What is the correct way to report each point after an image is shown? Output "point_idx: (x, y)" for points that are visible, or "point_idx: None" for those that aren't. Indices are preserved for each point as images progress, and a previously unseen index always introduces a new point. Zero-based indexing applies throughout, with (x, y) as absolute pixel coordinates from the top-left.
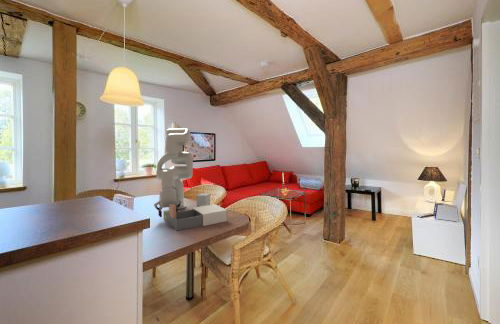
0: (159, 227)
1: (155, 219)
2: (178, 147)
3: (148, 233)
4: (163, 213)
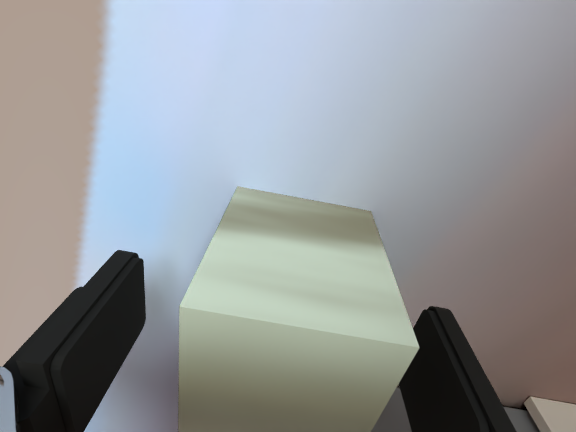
0: None
1: (108, 86)
2: None
3: None
4: (207, 251)
